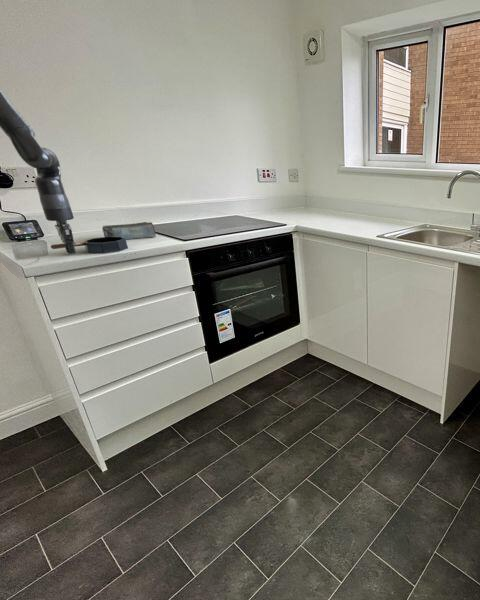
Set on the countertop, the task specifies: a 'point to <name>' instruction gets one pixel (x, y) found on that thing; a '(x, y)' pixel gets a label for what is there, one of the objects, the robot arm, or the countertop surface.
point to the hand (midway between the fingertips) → (71, 252)
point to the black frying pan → (99, 245)
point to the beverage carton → (130, 230)
